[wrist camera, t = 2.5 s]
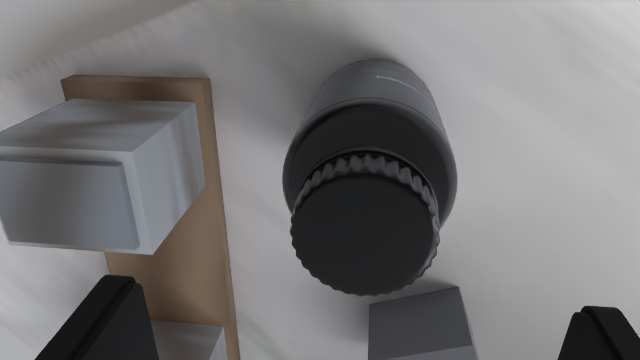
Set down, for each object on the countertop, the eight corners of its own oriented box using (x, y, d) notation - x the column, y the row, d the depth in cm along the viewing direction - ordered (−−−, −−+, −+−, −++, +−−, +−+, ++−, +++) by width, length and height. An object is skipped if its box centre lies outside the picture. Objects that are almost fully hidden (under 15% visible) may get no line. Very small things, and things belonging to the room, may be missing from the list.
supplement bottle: (432, 47, 23) (480, 126, 12) (438, 169, 26) (480, 319, 15) (300, 65, 24) (238, 150, 13) (320, 180, 27) (281, 326, 16)
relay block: (458, 285, 29) (472, 345, 25) (471, 331, 31) (487, 394, 26) (369, 303, 31) (367, 362, 26) (386, 346, 32) (387, 408, 28)
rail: (209, 78, 25) (134, 132, 17) (241, 373, 35) (203, 490, 27) (73, 75, 26) (-56, 124, 18) (143, 364, 36) (79, 474, 28)
